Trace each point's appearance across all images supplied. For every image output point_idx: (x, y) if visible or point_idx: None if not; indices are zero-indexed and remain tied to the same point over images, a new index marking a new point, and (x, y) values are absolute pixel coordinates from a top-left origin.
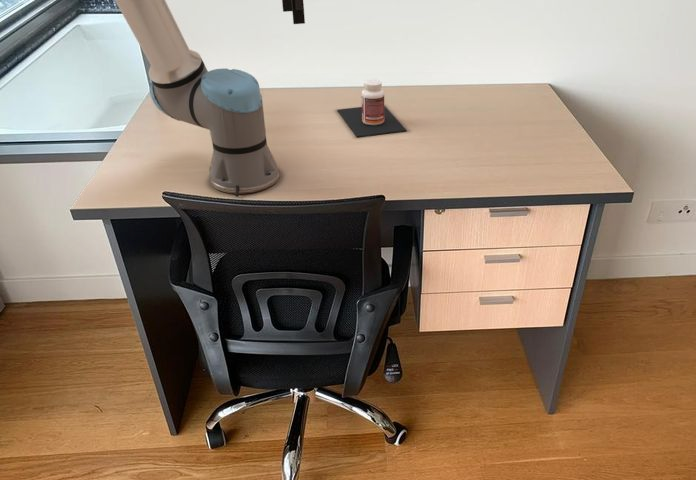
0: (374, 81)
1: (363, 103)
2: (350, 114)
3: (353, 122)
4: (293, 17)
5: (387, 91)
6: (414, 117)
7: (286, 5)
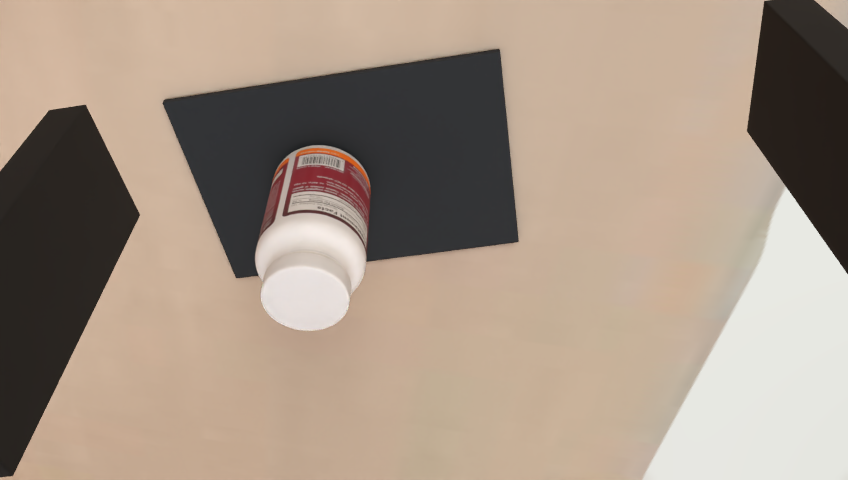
0: (316, 307)
1: (285, 200)
2: (423, 104)
3: (322, 106)
4: (16, 152)
5: (685, 273)
6: (374, 315)
7: (792, 83)
